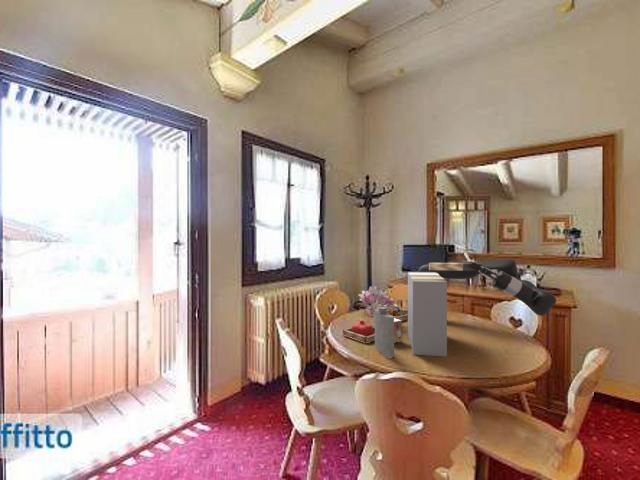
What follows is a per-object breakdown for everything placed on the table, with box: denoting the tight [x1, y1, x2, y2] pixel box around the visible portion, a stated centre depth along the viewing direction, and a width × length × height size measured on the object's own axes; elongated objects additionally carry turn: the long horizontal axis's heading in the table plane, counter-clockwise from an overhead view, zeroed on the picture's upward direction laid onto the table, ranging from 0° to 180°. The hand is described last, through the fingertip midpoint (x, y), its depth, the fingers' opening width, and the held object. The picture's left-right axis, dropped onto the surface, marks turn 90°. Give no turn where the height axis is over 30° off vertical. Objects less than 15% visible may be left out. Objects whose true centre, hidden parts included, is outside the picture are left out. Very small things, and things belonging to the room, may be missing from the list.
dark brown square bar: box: [428, 262, 482, 271], centre depth 151 cm, size 22×3×3 cm, turn 79°
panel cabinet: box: [407, 271, 448, 357], centre depth 161 cm, size 14×32×32 cm, turn 169°
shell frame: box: [363, 307, 408, 322], centre depth 212 cm, size 26×20×3 cm
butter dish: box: [351, 319, 375, 337], centre depth 172 cm, size 12×12×8 cm
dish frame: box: [342, 326, 375, 344], centre depth 172 cm, size 17×16×3 cm
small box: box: [394, 318, 403, 344], centre depth 164 cm, size 8×6×10 cm
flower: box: [357, 285, 398, 327], centre depth 189 cm, size 20×22×25 cm
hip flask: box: [374, 307, 395, 359], centre depth 150 cm, size 16×4×20 cm, turn 14°
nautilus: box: [377, 303, 401, 317], centre depth 209 cm, size 8×22×15 cm
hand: (470, 263), depth 149 cm, fingers closed on dark brown square bar, 3 cm apart
